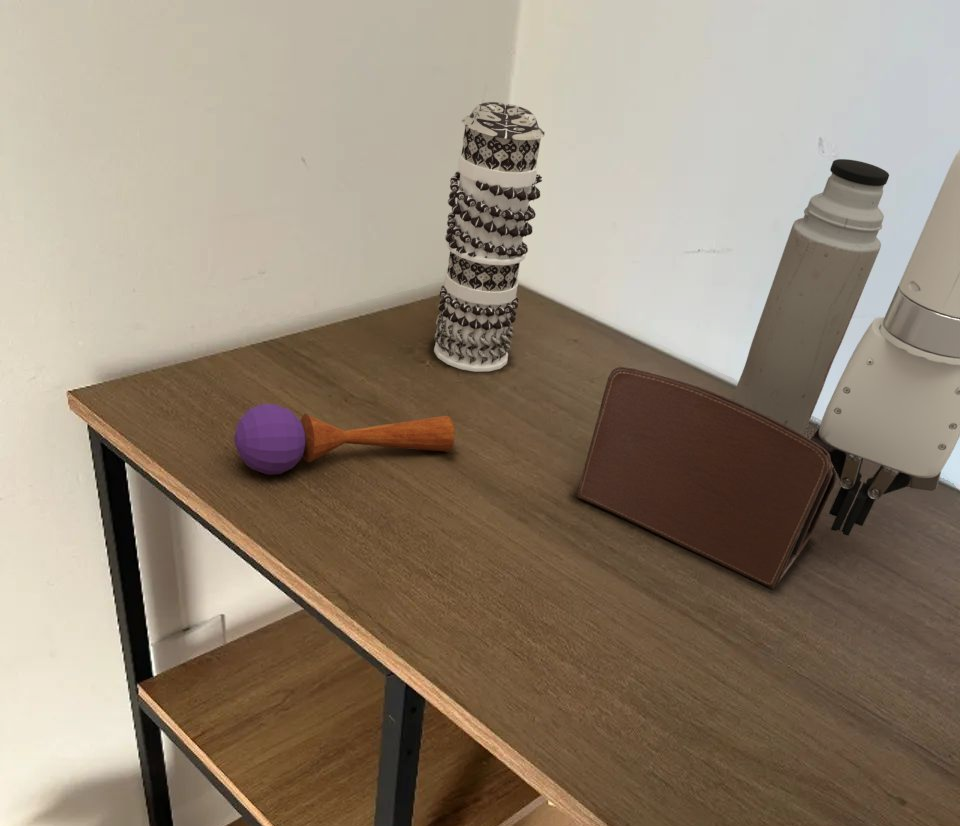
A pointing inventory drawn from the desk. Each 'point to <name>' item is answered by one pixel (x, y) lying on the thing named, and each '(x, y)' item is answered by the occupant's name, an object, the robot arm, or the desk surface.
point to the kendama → (325, 437)
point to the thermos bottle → (814, 295)
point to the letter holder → (706, 473)
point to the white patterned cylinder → (487, 235)
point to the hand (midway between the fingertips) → (842, 525)
